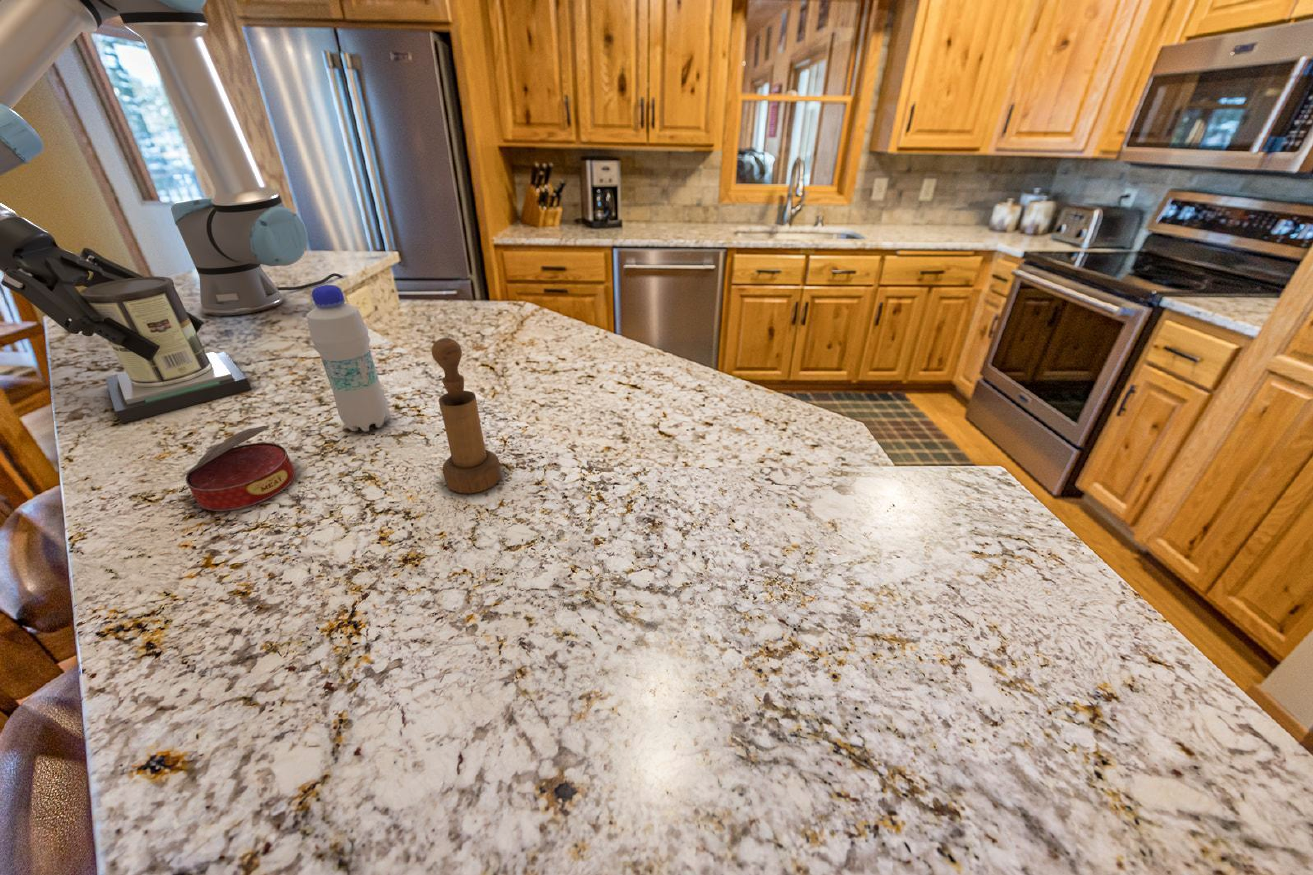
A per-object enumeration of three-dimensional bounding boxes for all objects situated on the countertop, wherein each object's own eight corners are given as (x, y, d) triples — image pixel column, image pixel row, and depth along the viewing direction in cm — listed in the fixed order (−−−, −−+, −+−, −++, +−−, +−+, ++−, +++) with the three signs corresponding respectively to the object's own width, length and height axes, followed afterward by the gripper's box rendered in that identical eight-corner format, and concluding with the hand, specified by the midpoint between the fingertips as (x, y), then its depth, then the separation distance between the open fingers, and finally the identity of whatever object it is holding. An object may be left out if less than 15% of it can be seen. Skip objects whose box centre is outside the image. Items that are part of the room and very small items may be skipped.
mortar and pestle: (511, 469, 67) (489, 333, 58) (481, 499, 62) (450, 355, 52) (467, 459, 69) (438, 326, 59) (434, 487, 64) (396, 346, 54)
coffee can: (171, 359, 89) (128, 274, 82) (228, 362, 88) (189, 277, 81) (111, 386, 80) (57, 293, 73) (174, 389, 80) (126, 296, 72)
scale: (229, 361, 96) (222, 347, 94) (251, 389, 86) (245, 373, 85) (111, 389, 86) (102, 373, 84) (122, 424, 76) (111, 406, 75)
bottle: (403, 418, 78) (366, 282, 68) (365, 440, 73) (317, 295, 62) (371, 409, 80) (330, 276, 70) (331, 429, 75) (280, 288, 65)
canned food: (234, 543, 62) (144, 501, 54) (234, 491, 68) (154, 447, 61) (317, 482, 63) (240, 433, 56) (309, 437, 70) (240, 388, 63)
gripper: (56, 240, 83) (209, 332, 93) (-100, 277, 64) (113, 388, 73) (75, 202, 81) (229, 301, 90) (-81, 229, 61) (136, 351, 71)
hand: (178, 340), depth 82 cm, fingers closed on coffee can, 10 cm apart
